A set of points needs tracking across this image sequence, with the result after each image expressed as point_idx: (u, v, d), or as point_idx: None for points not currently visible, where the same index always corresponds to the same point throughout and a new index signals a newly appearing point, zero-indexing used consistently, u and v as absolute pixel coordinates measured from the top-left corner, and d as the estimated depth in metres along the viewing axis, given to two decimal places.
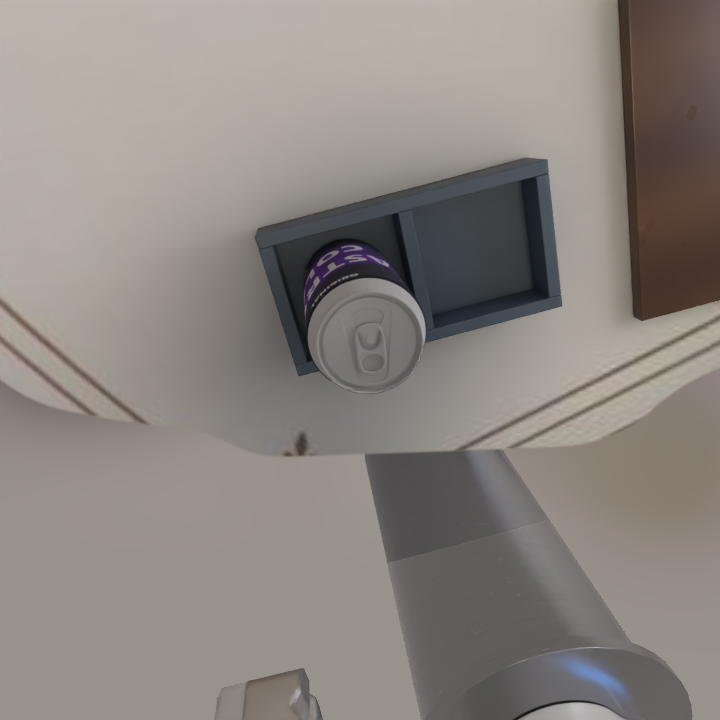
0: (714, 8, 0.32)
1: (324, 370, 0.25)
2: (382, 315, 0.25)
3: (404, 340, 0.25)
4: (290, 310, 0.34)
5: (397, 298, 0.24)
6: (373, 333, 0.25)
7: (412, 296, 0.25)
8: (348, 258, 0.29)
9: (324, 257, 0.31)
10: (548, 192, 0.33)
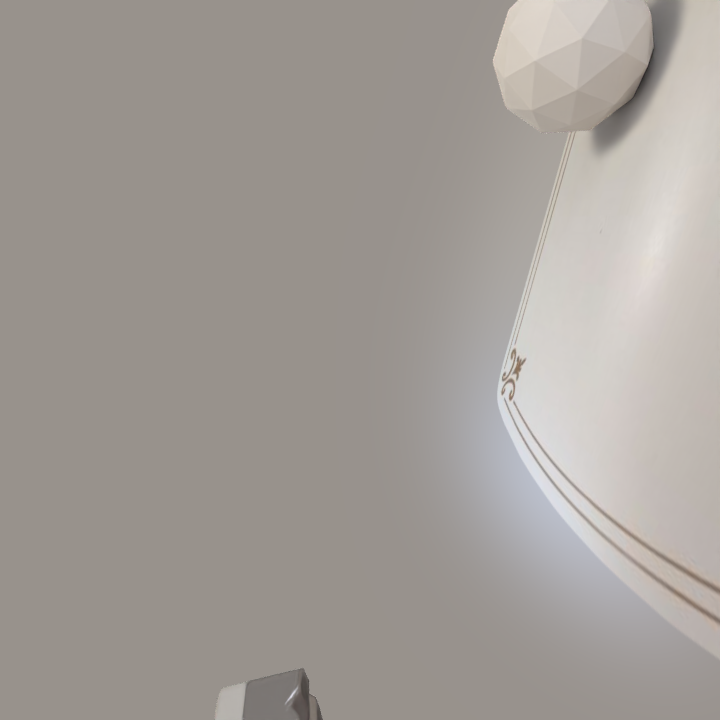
0: None
1: None
2: None
3: None
4: None
5: None
6: None
7: None
8: None
9: None
10: None
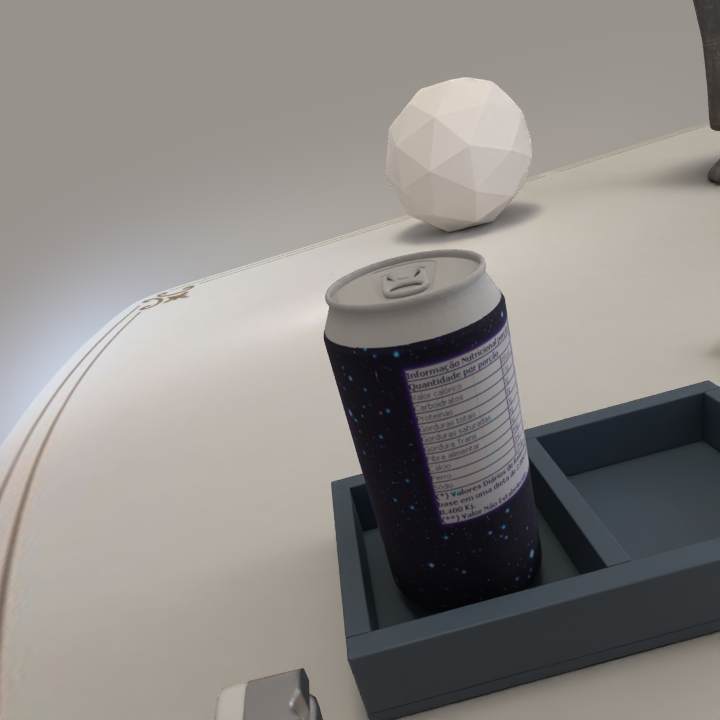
0: None
1: (331, 300, 0.16)
2: (424, 269, 0.18)
3: (455, 268, 0.17)
4: (357, 551, 0.20)
5: None
6: (410, 276, 0.17)
7: None
8: None
9: None
10: None
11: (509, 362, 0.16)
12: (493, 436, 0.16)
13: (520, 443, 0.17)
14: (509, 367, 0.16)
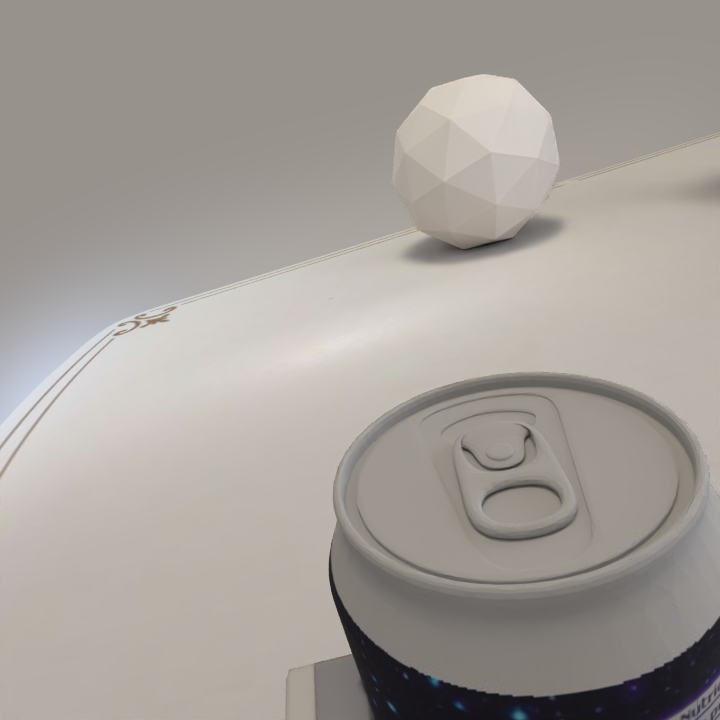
0: None
1: (347, 525, 0.07)
2: (533, 419, 0.09)
3: (620, 443, 0.08)
4: None
5: None
6: (513, 445, 0.08)
7: None
8: None
9: None
10: None
11: None
12: None
13: None
14: None
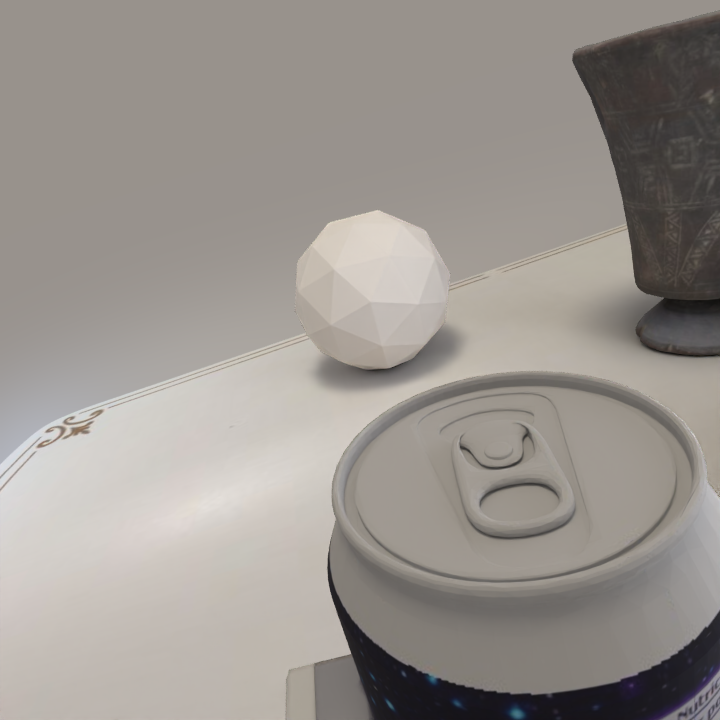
0: None
1: (346, 524, 0.07)
2: (532, 418, 0.09)
3: (618, 442, 0.08)
4: None
5: None
6: (510, 444, 0.08)
7: None
8: None
9: None
10: None
11: None
12: None
13: None
14: None
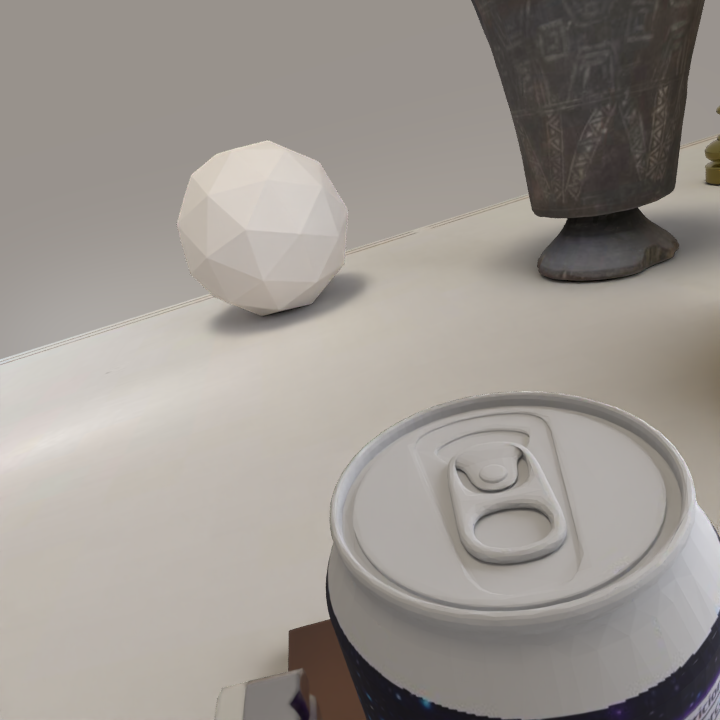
0: None
1: (343, 547, 0.07)
2: (526, 439, 0.09)
3: (610, 466, 0.08)
4: None
5: None
6: (506, 467, 0.08)
7: None
8: None
9: None
10: None
11: None
12: None
13: None
14: None
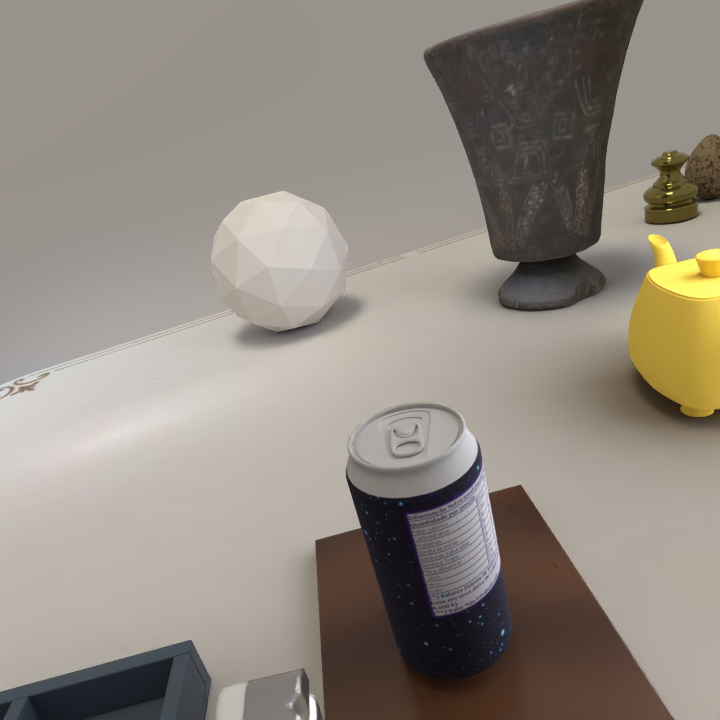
0: None
1: (352, 455, 0.22)
2: (421, 421, 0.24)
3: (444, 429, 0.22)
4: None
5: None
6: (411, 430, 0.23)
7: None
8: None
9: None
10: (181, 671, 0.27)
11: (484, 498, 0.22)
12: (471, 554, 0.22)
13: (492, 553, 0.23)
14: (483, 502, 0.22)
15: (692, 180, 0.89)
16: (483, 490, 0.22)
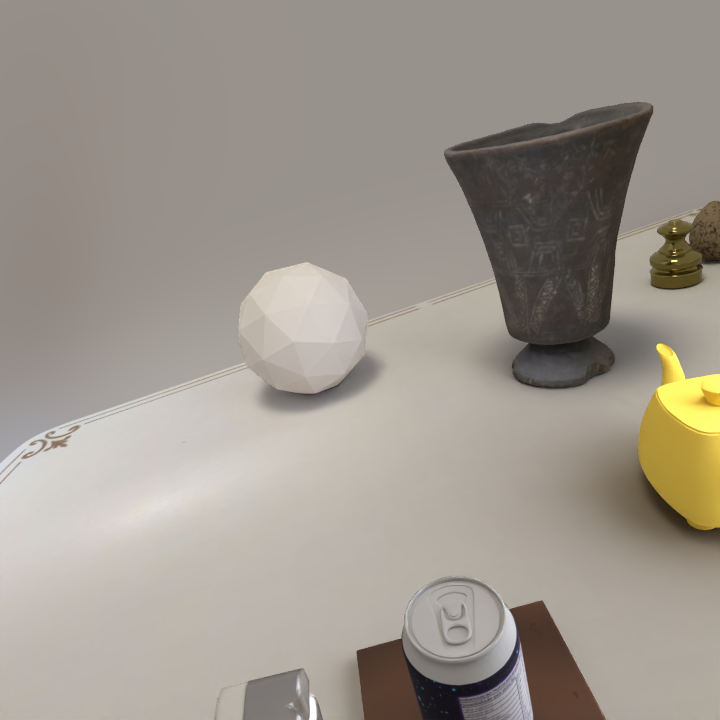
0: None
1: (410, 638, 0.26)
2: (466, 597, 0.28)
3: (487, 613, 0.26)
4: None
5: (476, 579, 0.28)
6: (458, 610, 0.27)
7: None
8: None
9: None
10: None
11: (521, 673, 0.26)
12: None
13: (527, 715, 0.27)
14: (521, 677, 0.26)
15: (696, 243, 0.93)
16: (521, 667, 0.26)
